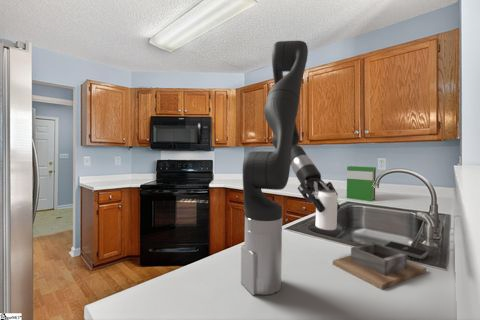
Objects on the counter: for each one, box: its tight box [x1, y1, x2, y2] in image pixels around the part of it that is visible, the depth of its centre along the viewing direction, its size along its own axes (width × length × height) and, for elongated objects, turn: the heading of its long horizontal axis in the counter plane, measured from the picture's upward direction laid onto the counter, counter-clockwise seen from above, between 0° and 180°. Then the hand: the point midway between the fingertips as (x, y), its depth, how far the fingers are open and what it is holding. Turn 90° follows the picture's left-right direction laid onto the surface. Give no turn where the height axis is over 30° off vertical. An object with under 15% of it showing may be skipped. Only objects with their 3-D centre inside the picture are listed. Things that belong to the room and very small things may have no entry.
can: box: [315, 190, 339, 232], centre depth 78 cm, size 6×6×12 cm
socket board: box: [332, 242, 427, 290], centre depth 70 cm, size 20×15×5 cm
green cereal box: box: [346, 166, 377, 202], centre depth 181 cm, size 18×7×24 cm, turn 47°
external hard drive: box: [383, 241, 429, 261], centre depth 82 cm, size 7×11×2 cm, turn 38°
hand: (330, 210), depth 77 cm, fingers closed on can, 6 cm apart
